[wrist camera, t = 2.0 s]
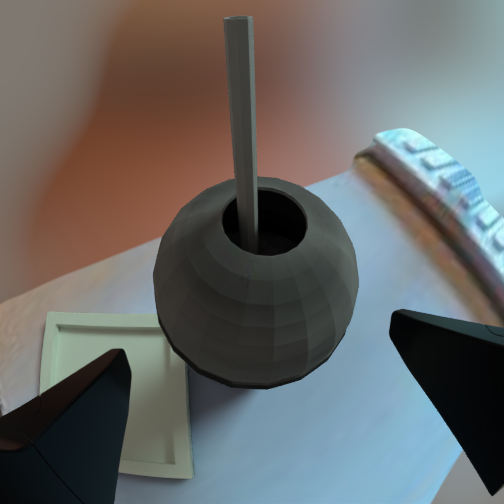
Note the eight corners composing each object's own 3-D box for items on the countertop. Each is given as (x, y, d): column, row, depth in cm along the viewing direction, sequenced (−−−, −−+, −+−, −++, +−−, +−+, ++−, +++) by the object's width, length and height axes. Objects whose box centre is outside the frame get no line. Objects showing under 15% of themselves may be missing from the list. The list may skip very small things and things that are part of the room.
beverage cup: (240, 424, 18) (330, 549, 1) (173, 347, 20) (14, 65, 3) (315, 357, 20) (526, 115, 3) (248, 290, 23) (280, -6, 6)
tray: (194, 475, 15) (192, 479, 14) (49, 453, 14) (40, 453, 13) (187, 319, 21) (184, 313, 20) (55, 317, 20) (47, 311, 19)
